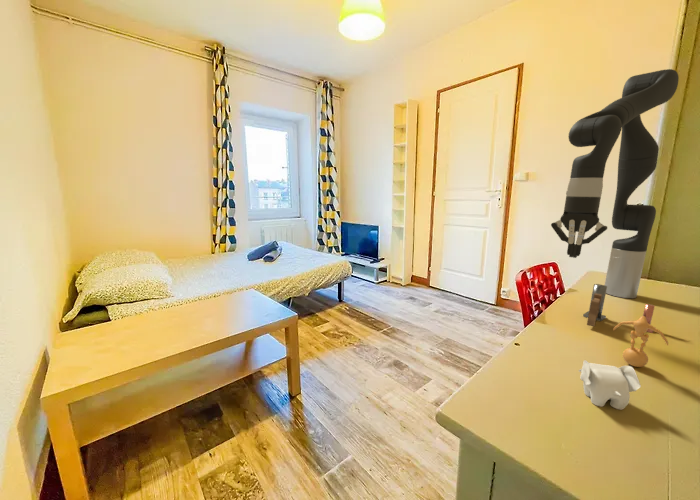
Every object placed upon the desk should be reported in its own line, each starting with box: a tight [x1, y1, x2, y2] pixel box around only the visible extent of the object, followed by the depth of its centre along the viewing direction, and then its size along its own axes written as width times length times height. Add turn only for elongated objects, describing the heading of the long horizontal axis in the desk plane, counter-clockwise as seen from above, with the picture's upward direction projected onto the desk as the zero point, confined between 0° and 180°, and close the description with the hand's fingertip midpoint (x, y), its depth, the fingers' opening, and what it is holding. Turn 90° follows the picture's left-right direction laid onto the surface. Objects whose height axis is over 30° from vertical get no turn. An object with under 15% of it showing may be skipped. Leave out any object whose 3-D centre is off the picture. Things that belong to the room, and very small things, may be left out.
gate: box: [586, 293, 602, 327], centre depth 83 cm, size 9×2×7 cm, turn 136°
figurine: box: [612, 315, 669, 368], centre depth 62 cm, size 8×6×12 cm
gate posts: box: [583, 283, 656, 334], centre depth 84 cm, size 6×15×10 cm, turn 36°
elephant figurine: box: [578, 359, 642, 411], centre depth 53 cm, size 8×10×7 cm
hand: (572, 256), depth 83 cm, fingers closed
